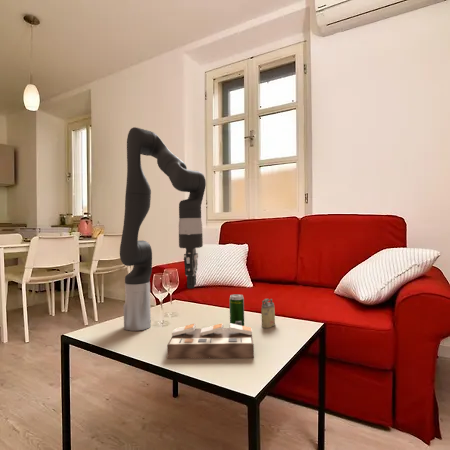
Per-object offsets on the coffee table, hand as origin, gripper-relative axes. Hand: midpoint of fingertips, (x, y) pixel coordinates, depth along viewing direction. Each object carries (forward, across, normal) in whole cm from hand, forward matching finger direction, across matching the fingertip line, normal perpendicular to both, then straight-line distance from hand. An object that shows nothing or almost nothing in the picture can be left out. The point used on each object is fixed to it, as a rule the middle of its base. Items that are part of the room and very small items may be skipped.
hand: (191, 286), depth 97 cm
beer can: (+19, -18, +14) cm, 30 cm away
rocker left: (+14, 0, -3) cm, 14 cm away
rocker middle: (+14, 0, +6) cm, 15 cm away
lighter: (+19, -20, +26) cm, 38 cm away
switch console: (+19, +2, +6) cm, 20 cm away
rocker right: (+14, 0, +15) cm, 20 cm away
